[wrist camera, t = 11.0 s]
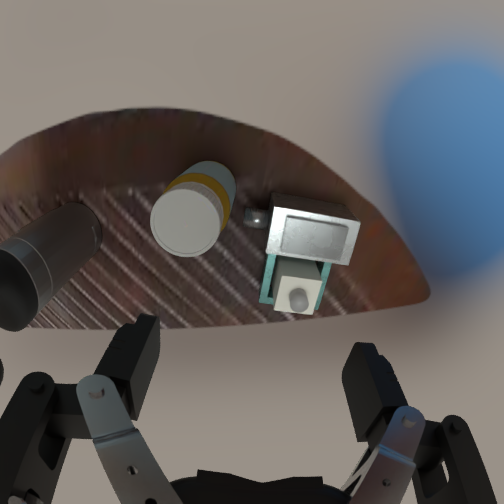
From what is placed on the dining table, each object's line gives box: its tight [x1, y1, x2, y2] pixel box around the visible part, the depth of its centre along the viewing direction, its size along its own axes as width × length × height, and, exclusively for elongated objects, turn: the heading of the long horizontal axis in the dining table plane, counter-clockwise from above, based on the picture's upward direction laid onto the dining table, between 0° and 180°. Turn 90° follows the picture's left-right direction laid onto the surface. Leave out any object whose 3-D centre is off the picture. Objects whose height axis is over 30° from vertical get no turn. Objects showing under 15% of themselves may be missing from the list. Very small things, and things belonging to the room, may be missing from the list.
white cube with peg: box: [272, 255, 322, 315], centre depth 40 cm, size 5×5×9 cm
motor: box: [243, 192, 361, 310], centre depth 39 cm, size 13×15×8 cm
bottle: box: [150, 161, 236, 257], centre depth 33 cm, size 7×7×15 cm
